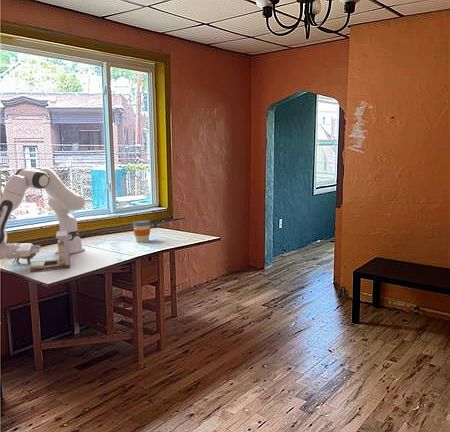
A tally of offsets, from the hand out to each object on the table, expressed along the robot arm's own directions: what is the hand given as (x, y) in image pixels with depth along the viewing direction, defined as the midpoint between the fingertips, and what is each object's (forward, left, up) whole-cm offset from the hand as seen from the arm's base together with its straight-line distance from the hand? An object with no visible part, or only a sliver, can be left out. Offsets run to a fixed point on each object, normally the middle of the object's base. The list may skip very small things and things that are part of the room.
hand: (40, 248), depth 261 cm
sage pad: (0, -2, -9) cm, 9 cm away
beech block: (0, +13, -9) cm, 16 cm away
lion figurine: (-15, -10, -12) cm, 22 cm away
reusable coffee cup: (-49, +66, -11) cm, 83 cm away
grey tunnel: (0, +13, -9) cm, 16 cm away
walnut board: (0, +5, -11) cm, 12 cm away
